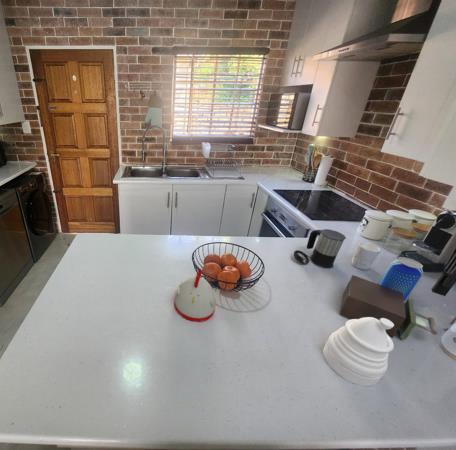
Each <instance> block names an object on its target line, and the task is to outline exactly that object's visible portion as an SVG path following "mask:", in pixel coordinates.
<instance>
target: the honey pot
mask: <svg viewBox="0 0 456 450" xmlns="http://www.w3.org/2000/svg"><path fill="white" fill-rule="evenodd" d="M393 326H394V324H393V323H392V322H391V321H390V320H388V319H385V318H381V319H380V321H379V320H378V319H376V318H373V317H365V318H360V319H348V320H347V321H346V322H345V323H344V325H343V326H341V327H339V328H338V329H337V330H335V331H333V332H332V333H331V334H330V335H329V337H328V338H327V341H326V342H325V344H324V347H322V348H323V349H322V354H323V358H324V360H325V361H326V363H327V364H328V365H329V367H330V368H331V369H332V370H333V371H334V372H335V373H336V374H337V375H338V376H340V377H341V378H343V379H344V380H346V381H348V382H350V383H352V384H354V385H356V386H357V385H358V386H361V387H367V388H369V387H373V386H375V385H377V384H378V383H379V381H380V380H382V378H383V376H384V375H385V373H386V372H387V369H388V367H389V365H388V361H389V359H388V358H389V356H390V354H389V353H391V352H392V351H393V350H394V348H395V344H394V342H393V340H392V339H393V338H391V337H389V336H388V334H387V333H386V331H385V329H391V328H392V327H393Z"/></svg>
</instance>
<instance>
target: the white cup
mask: <svg viewBox="0 0 456 450" xmlns="http://www.w3.org/2000/svg"><path fill="white" fill-rule="evenodd" d="M380 252H381V248H380V247H379V246H377V245H375V244H372V243H370V242H366V241H359V242H357V245H356V248H355V250H354V252H353V255H352V258H351V261H350V264H351V265H352V266H353V267H354V268H356V269H359V270H364V271H366V270H367V271H368V270H370V268H371V266H372V265H373V264H374V262H375V260H376V259H377V258H378V256H379V254H380Z"/></svg>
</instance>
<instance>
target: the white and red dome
mask: <svg viewBox="0 0 456 450" xmlns="http://www.w3.org/2000/svg"><path fill="white" fill-rule="evenodd" d="M202 273H203V269H198V270H197V273H196V275H194V276H191V277H188V278H187V279H186V280H184V281H181V282H180V283H179V285H178V287H177V290H176V292H175V297H174V304H173V305H174V309H175V311H176V313H177V314H178V315H179V316H180V317H181V318H183V319H185V320H187V321H190V322H194V323H202V322H206V321H208V320H210V319H211V318H212V317H214V313H215V310H216V291H215V290H213V288H212V286H211V284H210V283H209V282H208V280H206V279H205V278H204V277H202Z"/></svg>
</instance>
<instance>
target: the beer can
mask: <svg viewBox="0 0 456 450" xmlns="http://www.w3.org/2000/svg"><path fill="white" fill-rule="evenodd" d="M423 267H424V265H423V264H422V263H420V262H419V261H417V260H416V259H412V258H409V257H405V256H399V257H398V258H397V259H394V260H392V261H391V262H390V264H389V266H388V268H387V269H386V271H385V273H384V275H383V276H382V278H381V280H380V282H379V283H378V284H380V285H382V286H385V287H388V288H391V289H394V290H397V291H399V292H402V293H403V296H404V303H405V302H406V300H407V299H408V298H409V296H410V295H411V293H412V291H413V290H414V288H415V287H416V286H417V284H418V282H419V281H420V280H421V278H422V276H423V275H424V270H423Z"/></svg>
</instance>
